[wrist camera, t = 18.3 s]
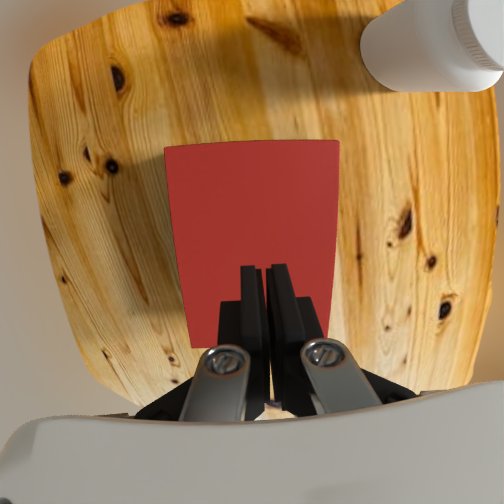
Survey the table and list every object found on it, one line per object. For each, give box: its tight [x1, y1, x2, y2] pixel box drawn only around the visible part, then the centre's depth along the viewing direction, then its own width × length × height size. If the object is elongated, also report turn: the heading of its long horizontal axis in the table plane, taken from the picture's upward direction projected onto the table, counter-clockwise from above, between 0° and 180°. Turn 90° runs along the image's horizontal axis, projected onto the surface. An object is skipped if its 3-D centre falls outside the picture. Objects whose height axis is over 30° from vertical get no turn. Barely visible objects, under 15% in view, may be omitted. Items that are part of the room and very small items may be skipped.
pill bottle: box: [360, 0, 504, 93], centre depth 17 cm, size 8×8×15 cm
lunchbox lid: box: [164, 140, 340, 348], centre depth 24 cm, size 16×12×1 cm
